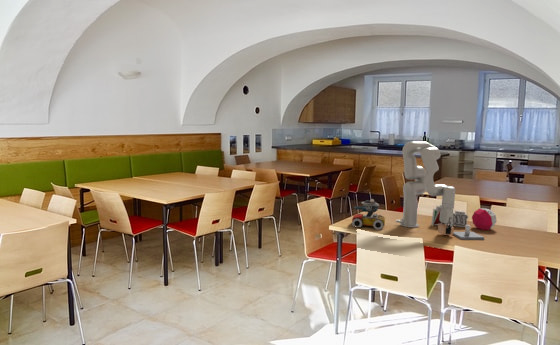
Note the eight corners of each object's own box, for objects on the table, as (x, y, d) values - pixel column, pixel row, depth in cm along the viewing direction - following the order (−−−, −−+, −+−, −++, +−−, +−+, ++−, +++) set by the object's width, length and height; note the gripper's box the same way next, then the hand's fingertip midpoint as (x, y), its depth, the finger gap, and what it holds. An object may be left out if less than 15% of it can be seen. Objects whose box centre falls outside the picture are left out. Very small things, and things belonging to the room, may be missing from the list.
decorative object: (468, 207, 300) (486, 202, 304) (466, 225, 307) (483, 219, 310) (484, 218, 287) (502, 212, 291) (481, 236, 294) (499, 230, 298)
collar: (442, 234, 274) (443, 227, 273) (437, 231, 281) (438, 224, 280) (453, 234, 275) (453, 227, 274) (448, 232, 282) (448, 224, 281)
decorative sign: (464, 229, 307) (468, 208, 305) (465, 230, 304) (469, 209, 302) (430, 224, 309) (434, 203, 307) (431, 225, 306) (435, 204, 304)
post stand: (461, 239, 269) (461, 227, 268) (450, 233, 283) (451, 222, 282) (484, 239, 270) (484, 227, 269) (472, 234, 284) (473, 222, 283)
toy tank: (353, 222, 312) (354, 195, 310) (384, 224, 306) (386, 197, 304) (351, 227, 295) (352, 199, 292) (384, 230, 289) (385, 201, 287)
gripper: (436, 202, 284) (434, 228, 286) (448, 208, 267) (445, 236, 269) (447, 202, 284) (445, 229, 287) (459, 208, 267) (457, 236, 269)
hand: (445, 232), depth 278 cm, fingers closed on collar, 7 cm apart
